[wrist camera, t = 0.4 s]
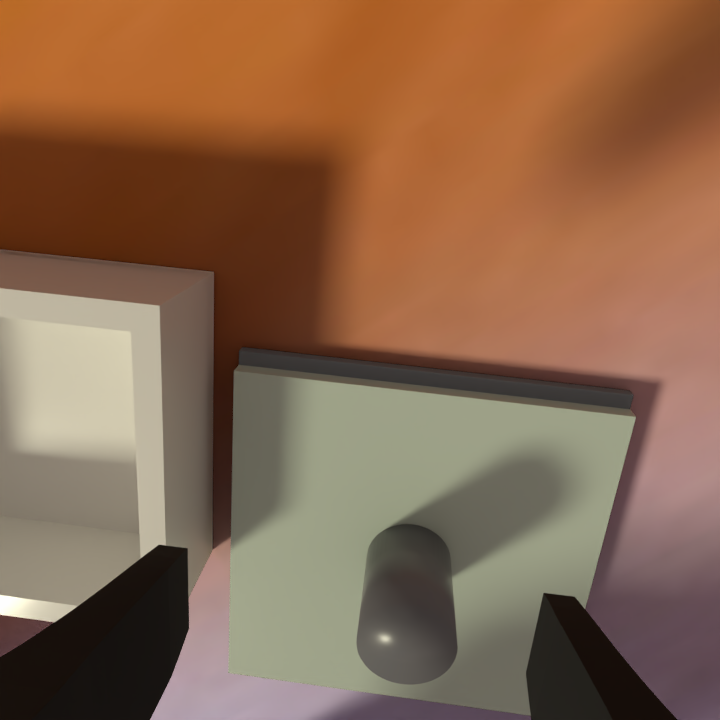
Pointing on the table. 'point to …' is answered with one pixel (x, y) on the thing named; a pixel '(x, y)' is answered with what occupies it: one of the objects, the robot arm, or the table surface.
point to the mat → (436, 378)
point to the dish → (100, 424)
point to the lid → (409, 531)
